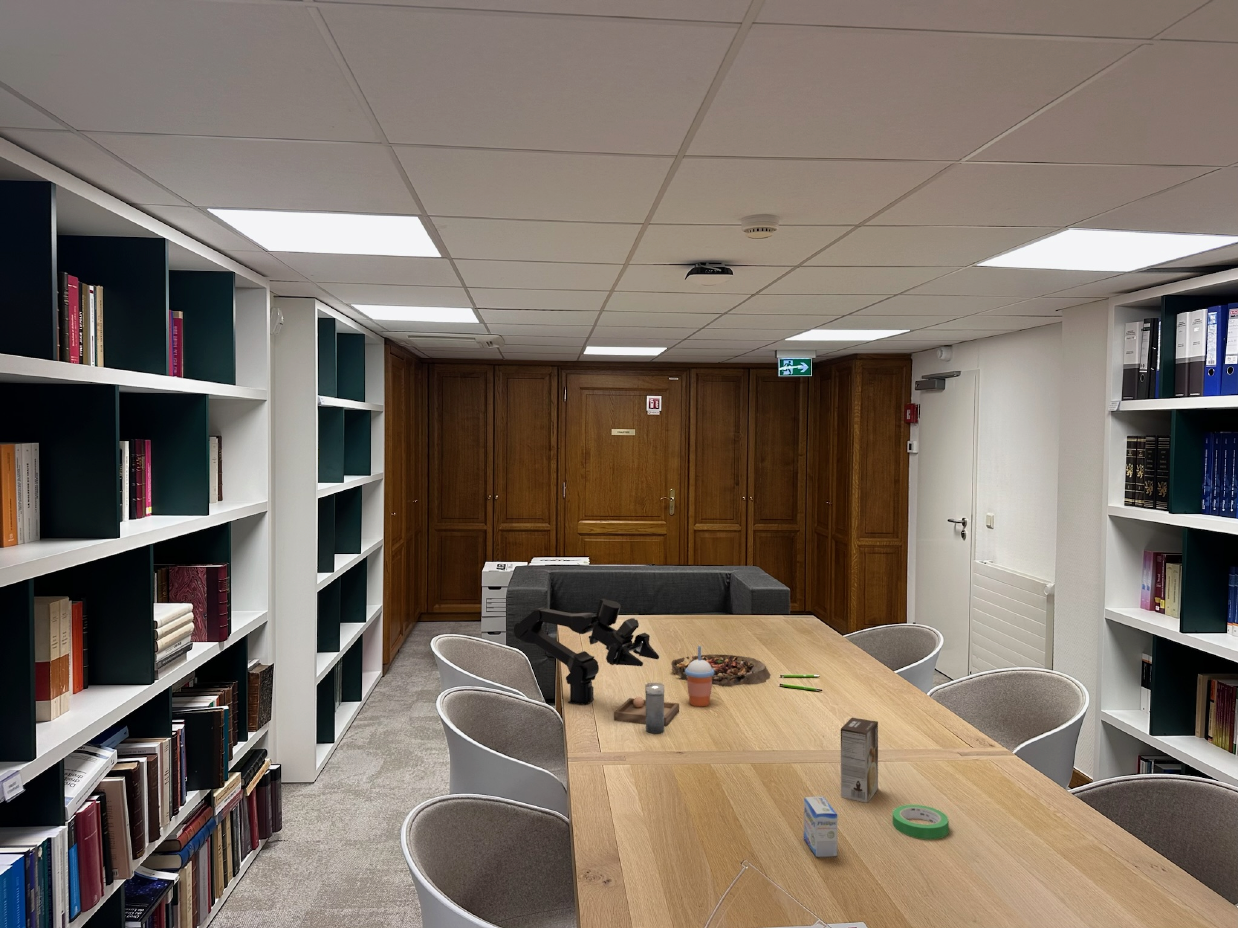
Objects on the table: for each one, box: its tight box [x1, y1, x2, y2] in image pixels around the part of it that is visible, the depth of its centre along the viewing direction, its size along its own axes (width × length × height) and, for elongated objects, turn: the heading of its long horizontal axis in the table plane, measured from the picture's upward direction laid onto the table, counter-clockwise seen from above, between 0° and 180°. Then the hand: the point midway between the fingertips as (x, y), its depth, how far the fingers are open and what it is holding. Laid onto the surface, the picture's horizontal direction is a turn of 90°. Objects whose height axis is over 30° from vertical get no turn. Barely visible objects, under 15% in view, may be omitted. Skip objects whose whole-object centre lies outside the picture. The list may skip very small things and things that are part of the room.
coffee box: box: [840, 717, 879, 804], centre depth 187 cm, size 9×6×16 cm
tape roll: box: [892, 804, 950, 840], centre depth 171 cm, size 11×11×3 cm
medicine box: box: [803, 796, 839, 858], centre depth 162 cm, size 8×4×9 cm, turn 5°
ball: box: [633, 696, 645, 707], centre depth 247 cm, size 3×3×3 cm
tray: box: [613, 697, 680, 727], centre depth 242 cm, size 16×14×2 cm
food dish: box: [670, 653, 772, 687], centre depth 287 cm, size 35×33×8 cm
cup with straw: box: [685, 645, 714, 707], centre depth 253 cm, size 9×9×18 cm
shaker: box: [644, 682, 665, 735], centre depth 229 cm, size 5×5×13 cm
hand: (650, 661), depth 241 cm, fingers open, 9 cm apart
